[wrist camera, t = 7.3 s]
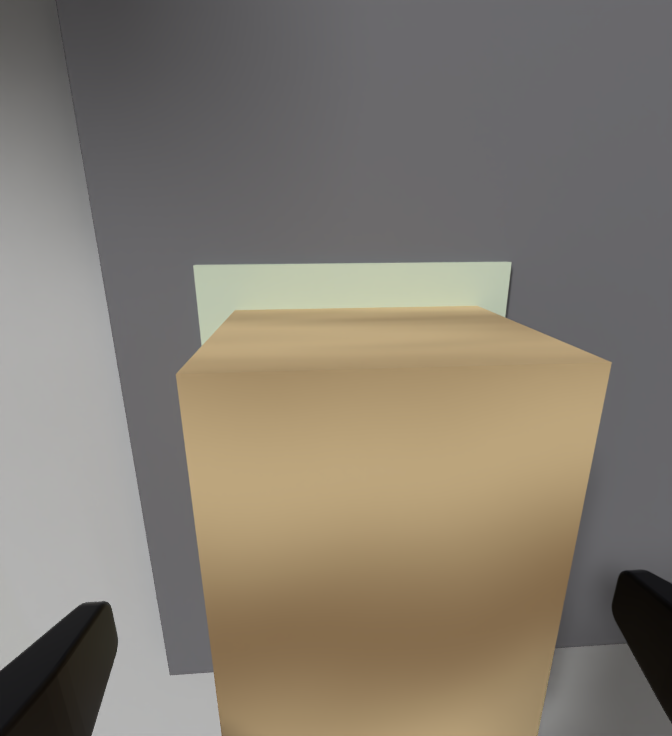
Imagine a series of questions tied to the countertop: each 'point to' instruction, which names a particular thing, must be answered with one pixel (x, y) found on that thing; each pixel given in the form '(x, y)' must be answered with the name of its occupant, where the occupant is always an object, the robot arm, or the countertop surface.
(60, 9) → the mat
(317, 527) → the oak block
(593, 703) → the countertop surface
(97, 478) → the countertop surface
